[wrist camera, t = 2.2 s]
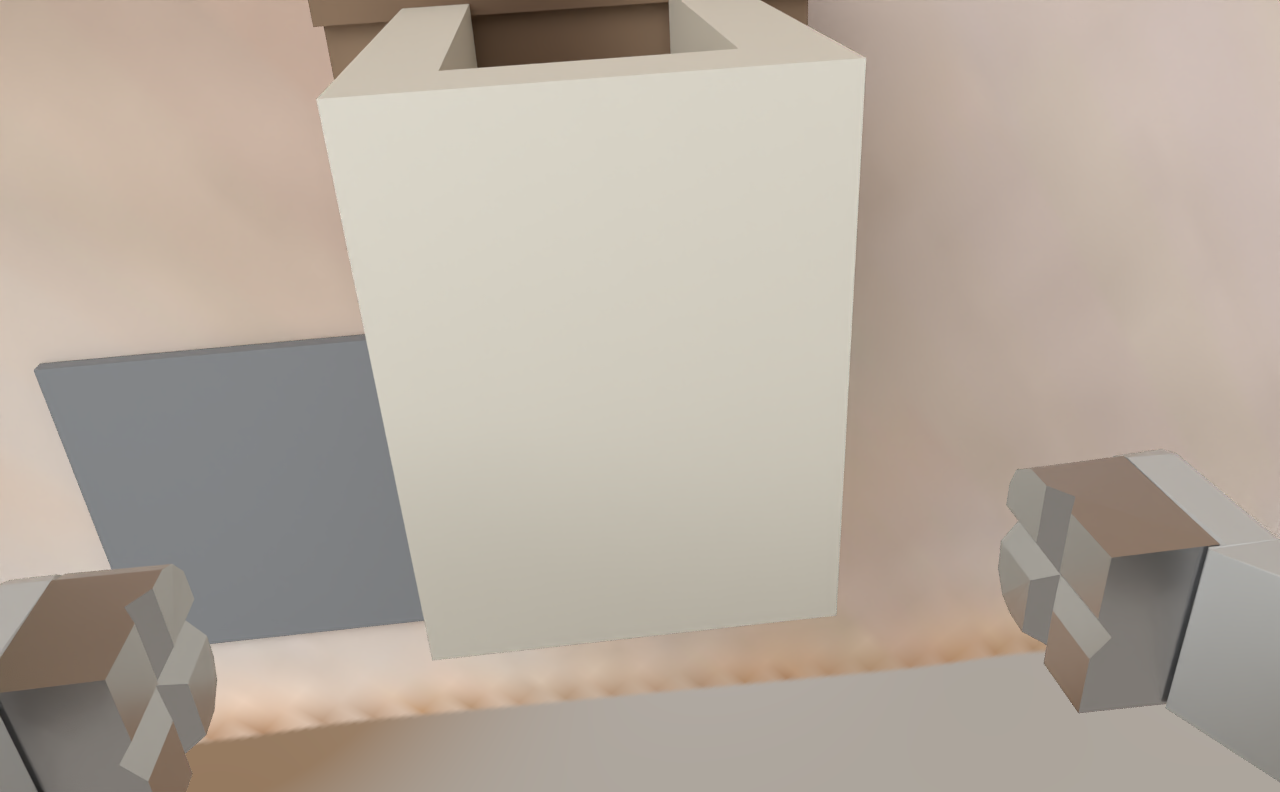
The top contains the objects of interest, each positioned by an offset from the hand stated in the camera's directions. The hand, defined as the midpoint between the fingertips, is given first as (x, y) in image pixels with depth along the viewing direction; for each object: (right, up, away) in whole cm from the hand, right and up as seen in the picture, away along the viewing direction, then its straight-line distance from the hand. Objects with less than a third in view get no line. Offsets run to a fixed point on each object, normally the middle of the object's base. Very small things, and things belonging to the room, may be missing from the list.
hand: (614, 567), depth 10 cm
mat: (-11, -1, +20) cm, 22 cm away
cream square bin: (-1, +5, +10) cm, 11 cm away
